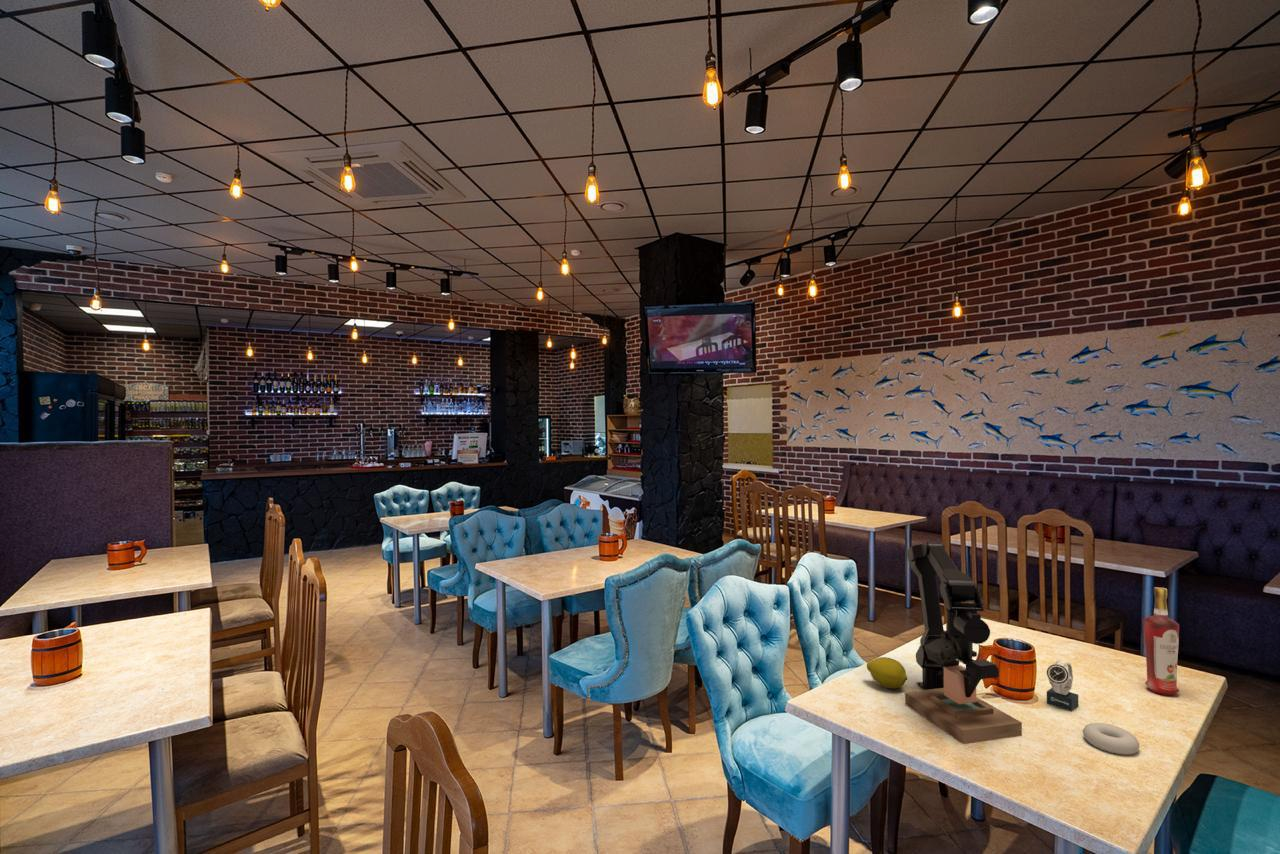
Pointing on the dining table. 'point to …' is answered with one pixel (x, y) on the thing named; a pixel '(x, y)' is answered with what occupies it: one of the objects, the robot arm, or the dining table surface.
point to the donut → (1111, 738)
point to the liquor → (1161, 647)
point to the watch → (1061, 686)
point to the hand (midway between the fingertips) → (959, 692)
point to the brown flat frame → (963, 716)
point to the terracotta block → (956, 685)
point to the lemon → (887, 672)
